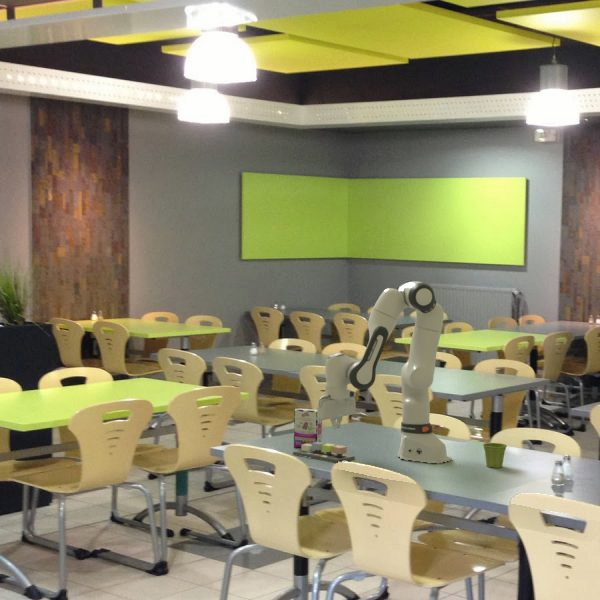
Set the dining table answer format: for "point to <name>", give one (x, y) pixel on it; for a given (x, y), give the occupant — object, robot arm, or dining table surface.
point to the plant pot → (494, 454)
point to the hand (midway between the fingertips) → (336, 428)
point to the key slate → (317, 446)
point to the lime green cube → (328, 448)
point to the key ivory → (307, 447)
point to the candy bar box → (306, 427)
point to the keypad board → (324, 456)
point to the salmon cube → (339, 450)
